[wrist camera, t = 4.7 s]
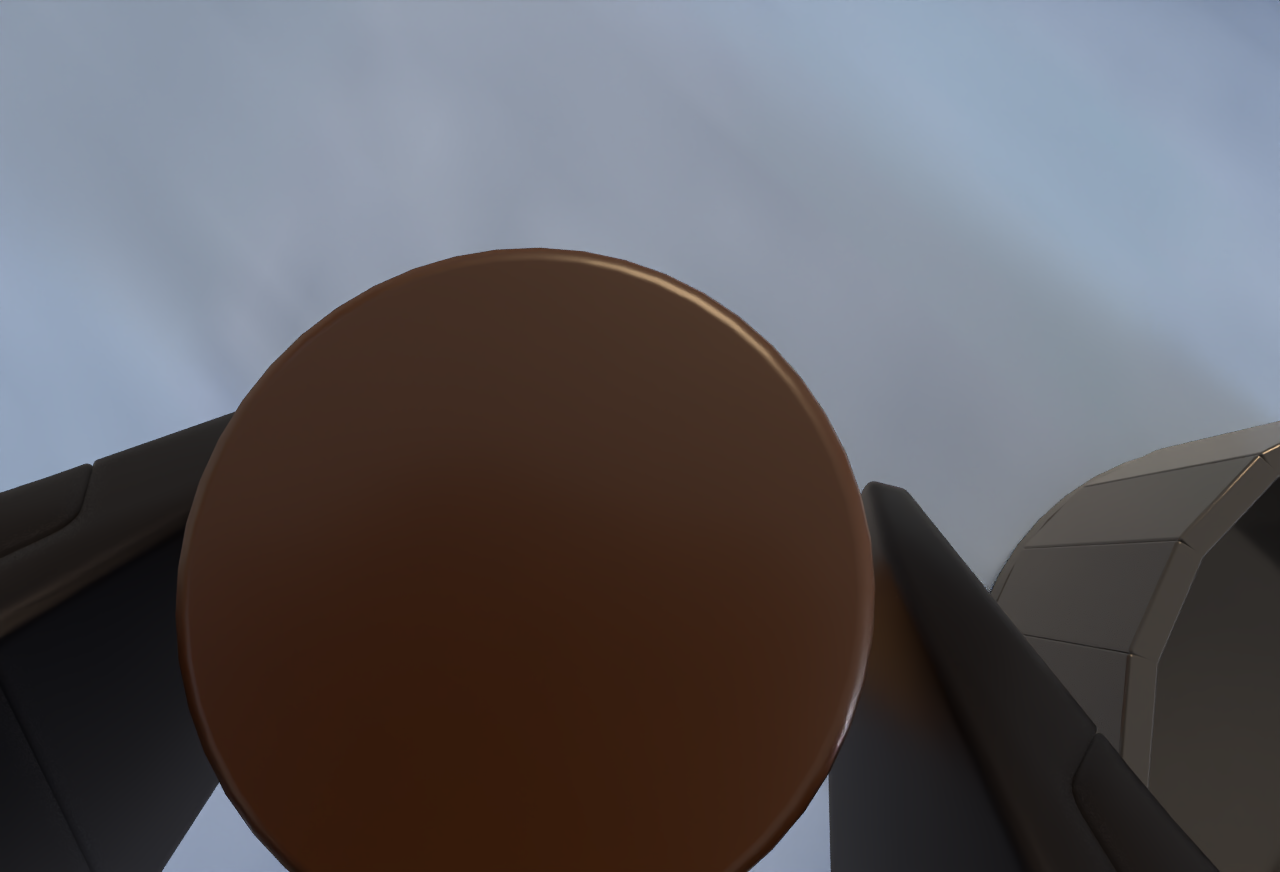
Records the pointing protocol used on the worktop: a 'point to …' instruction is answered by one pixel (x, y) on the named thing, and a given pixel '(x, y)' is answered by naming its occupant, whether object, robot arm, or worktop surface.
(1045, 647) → the bowl
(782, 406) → the stick
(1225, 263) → the worktop surface
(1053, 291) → the worktop surface
